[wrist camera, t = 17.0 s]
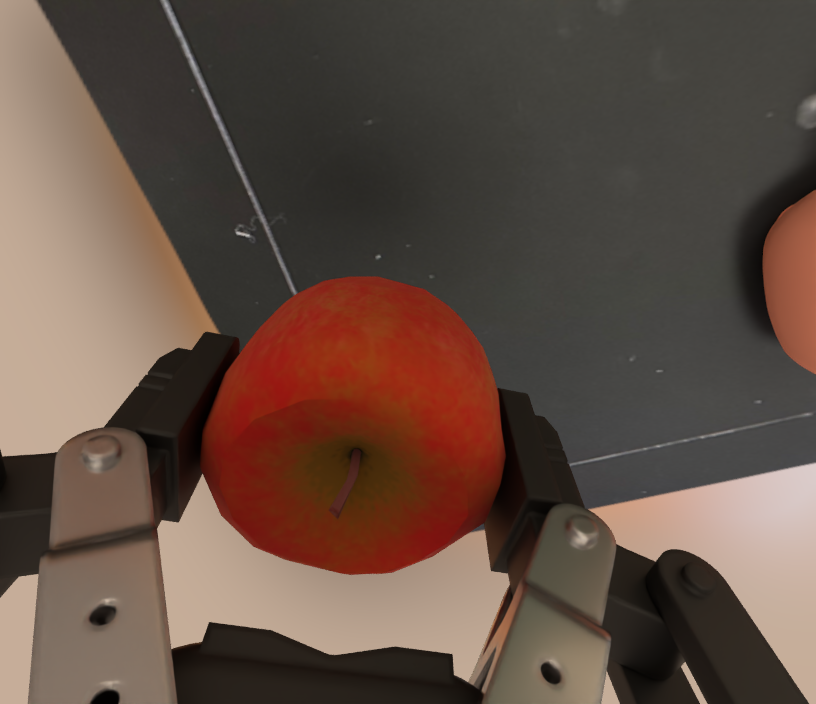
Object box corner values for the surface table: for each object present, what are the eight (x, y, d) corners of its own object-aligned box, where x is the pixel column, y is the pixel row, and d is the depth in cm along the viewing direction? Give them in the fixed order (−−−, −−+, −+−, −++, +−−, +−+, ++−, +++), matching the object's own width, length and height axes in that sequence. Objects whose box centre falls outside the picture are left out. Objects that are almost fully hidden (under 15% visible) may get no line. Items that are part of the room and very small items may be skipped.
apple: (463, 207, 14) (508, 351, 7) (484, 389, 17) (528, 599, 11) (243, 244, 14) (109, 407, 8) (303, 414, 18) (241, 627, 11)
